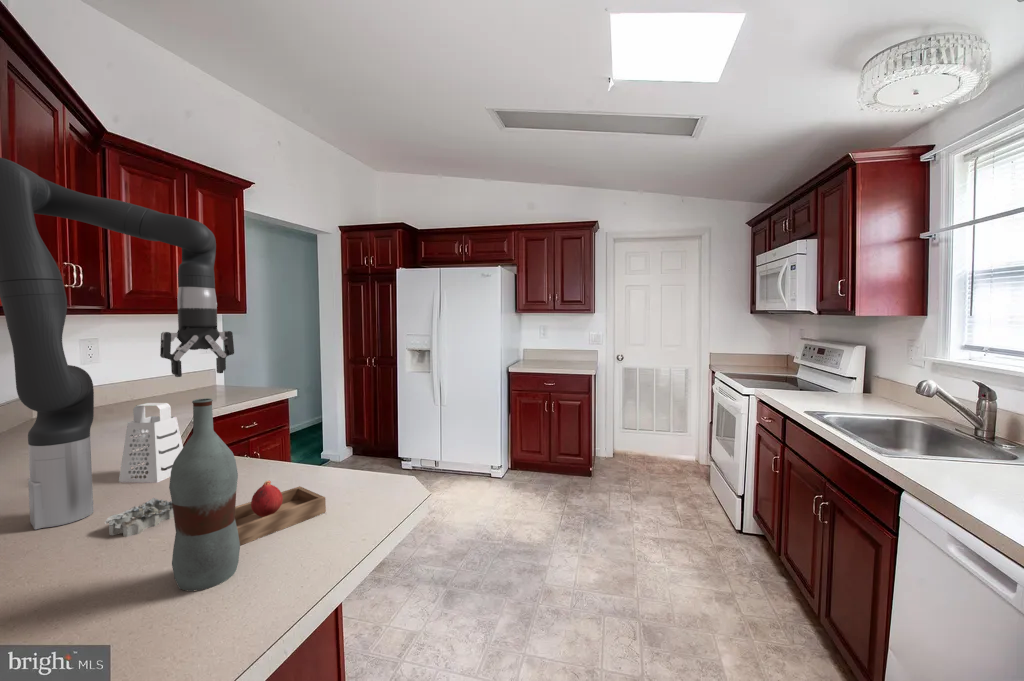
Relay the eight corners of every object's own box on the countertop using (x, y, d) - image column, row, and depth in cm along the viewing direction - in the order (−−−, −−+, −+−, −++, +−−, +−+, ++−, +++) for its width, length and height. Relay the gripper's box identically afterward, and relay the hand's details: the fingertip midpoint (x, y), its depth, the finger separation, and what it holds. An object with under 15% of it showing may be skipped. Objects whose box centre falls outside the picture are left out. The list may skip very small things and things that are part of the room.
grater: (157, 482, 114) (154, 408, 113) (118, 482, 114) (115, 407, 113) (187, 469, 124) (185, 400, 123) (152, 468, 125) (150, 400, 124)
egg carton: (129, 540, 85) (128, 519, 84) (101, 535, 86) (99, 515, 86) (182, 515, 95) (181, 497, 95) (155, 512, 97) (154, 494, 96)
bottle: (163, 599, 66) (157, 407, 65) (182, 568, 74) (176, 397, 73) (235, 585, 70) (230, 402, 68) (245, 556, 78) (240, 393, 77)
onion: (268, 525, 88) (267, 487, 87) (244, 523, 89) (243, 485, 89) (288, 513, 93) (288, 477, 93) (266, 510, 95) (265, 475, 94)
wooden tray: (225, 551, 80) (224, 533, 80) (202, 534, 86) (201, 517, 86) (325, 512, 96) (325, 497, 96) (300, 500, 102) (299, 486, 102)
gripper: (224, 308, 110) (226, 371, 110) (154, 306, 98) (157, 376, 99) (237, 307, 105) (239, 373, 106) (165, 305, 94) (168, 379, 95)
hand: (199, 374), depth 103 cm, fingers open, 8 cm apart
